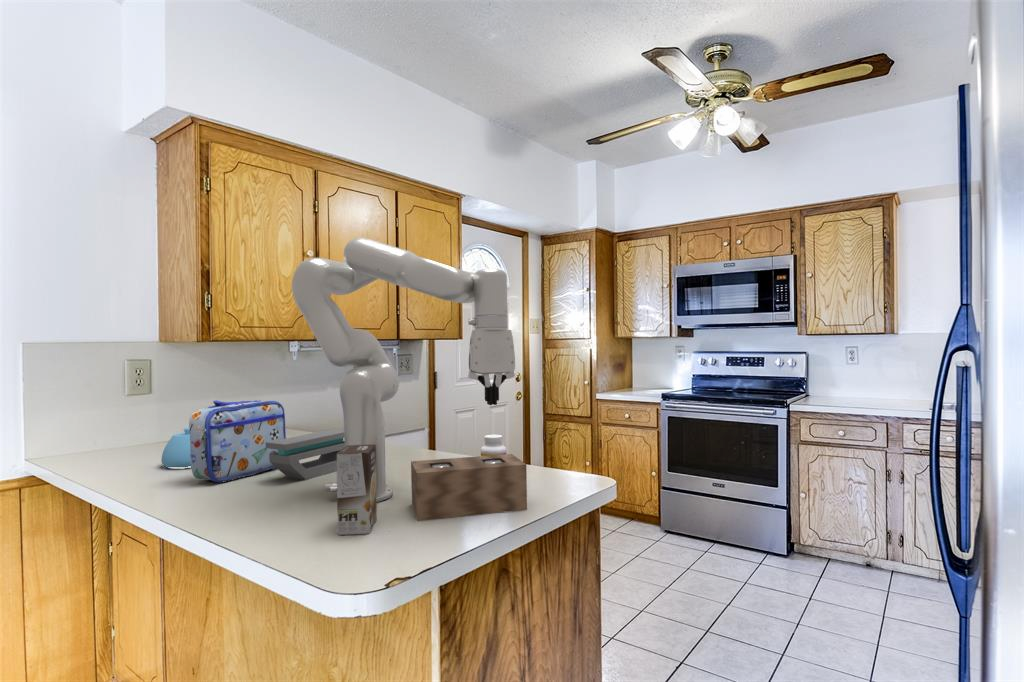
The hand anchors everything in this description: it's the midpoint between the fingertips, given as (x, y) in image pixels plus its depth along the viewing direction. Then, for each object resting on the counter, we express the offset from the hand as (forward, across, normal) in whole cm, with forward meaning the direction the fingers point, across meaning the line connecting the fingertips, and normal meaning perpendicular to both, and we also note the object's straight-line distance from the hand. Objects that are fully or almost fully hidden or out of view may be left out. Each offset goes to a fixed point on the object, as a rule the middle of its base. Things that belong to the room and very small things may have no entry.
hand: (491, 404), depth 128 cm
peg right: (+22, 0, 0) cm, 22 cm away
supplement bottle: (+23, +4, +16) cm, 28 cm away
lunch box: (+24, -62, +51) cm, 83 cm away
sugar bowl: (+24, -80, +72) cm, 110 cm away
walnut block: (+23, -6, 0) cm, 24 cm away
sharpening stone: (+24, -42, +46) cm, 66 cm away
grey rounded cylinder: (+22, -12, 0) cm, 25 cm away
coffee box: (+23, -30, -6) cm, 38 cm away
